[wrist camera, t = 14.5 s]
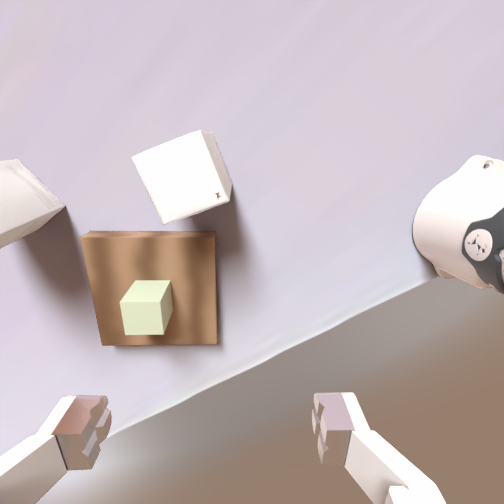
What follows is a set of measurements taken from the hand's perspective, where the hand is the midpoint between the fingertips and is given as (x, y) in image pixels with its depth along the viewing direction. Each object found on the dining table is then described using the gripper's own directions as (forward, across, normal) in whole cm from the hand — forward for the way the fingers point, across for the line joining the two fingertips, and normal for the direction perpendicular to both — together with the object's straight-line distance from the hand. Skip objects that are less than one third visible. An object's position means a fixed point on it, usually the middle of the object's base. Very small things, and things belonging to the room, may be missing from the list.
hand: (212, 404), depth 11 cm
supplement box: (+33, +5, -6) cm, 34 cm away
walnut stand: (+32, +12, +12) cm, 37 cm away
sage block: (+29, +12, +12) cm, 34 cm away
